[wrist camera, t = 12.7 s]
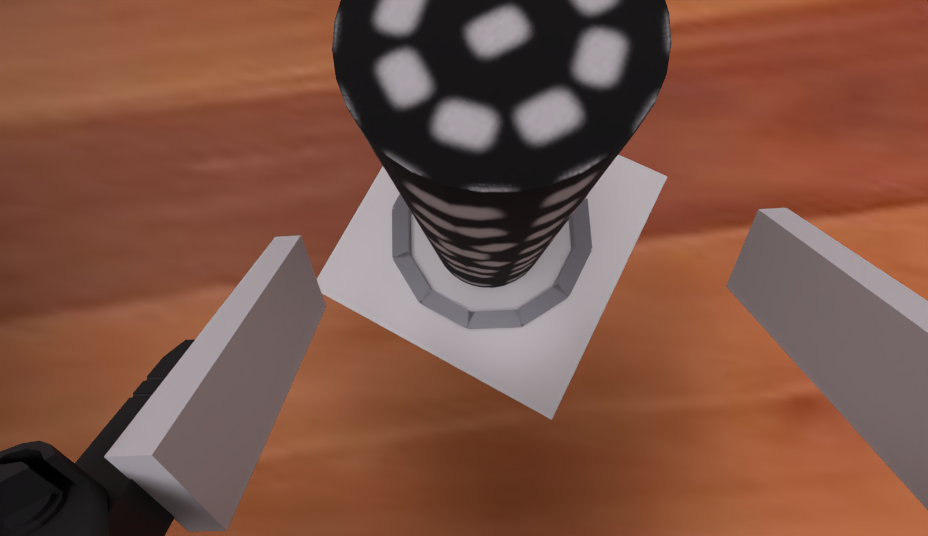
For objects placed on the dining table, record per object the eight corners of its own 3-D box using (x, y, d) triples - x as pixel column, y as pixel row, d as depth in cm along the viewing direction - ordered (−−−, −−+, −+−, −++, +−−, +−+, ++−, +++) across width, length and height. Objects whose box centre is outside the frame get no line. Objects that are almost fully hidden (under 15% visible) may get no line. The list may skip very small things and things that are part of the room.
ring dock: (317, 289, 30) (304, 285, 28) (438, 80, 33) (435, 63, 30) (549, 416, 28) (554, 424, 26) (661, 181, 30) (674, 170, 28)
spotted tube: (464, 307, 28) (420, 255, 9) (415, 211, 30) (282, -22, 10) (564, 256, 29) (740, 92, 9) (511, 163, 30) (563, -157, 10)
